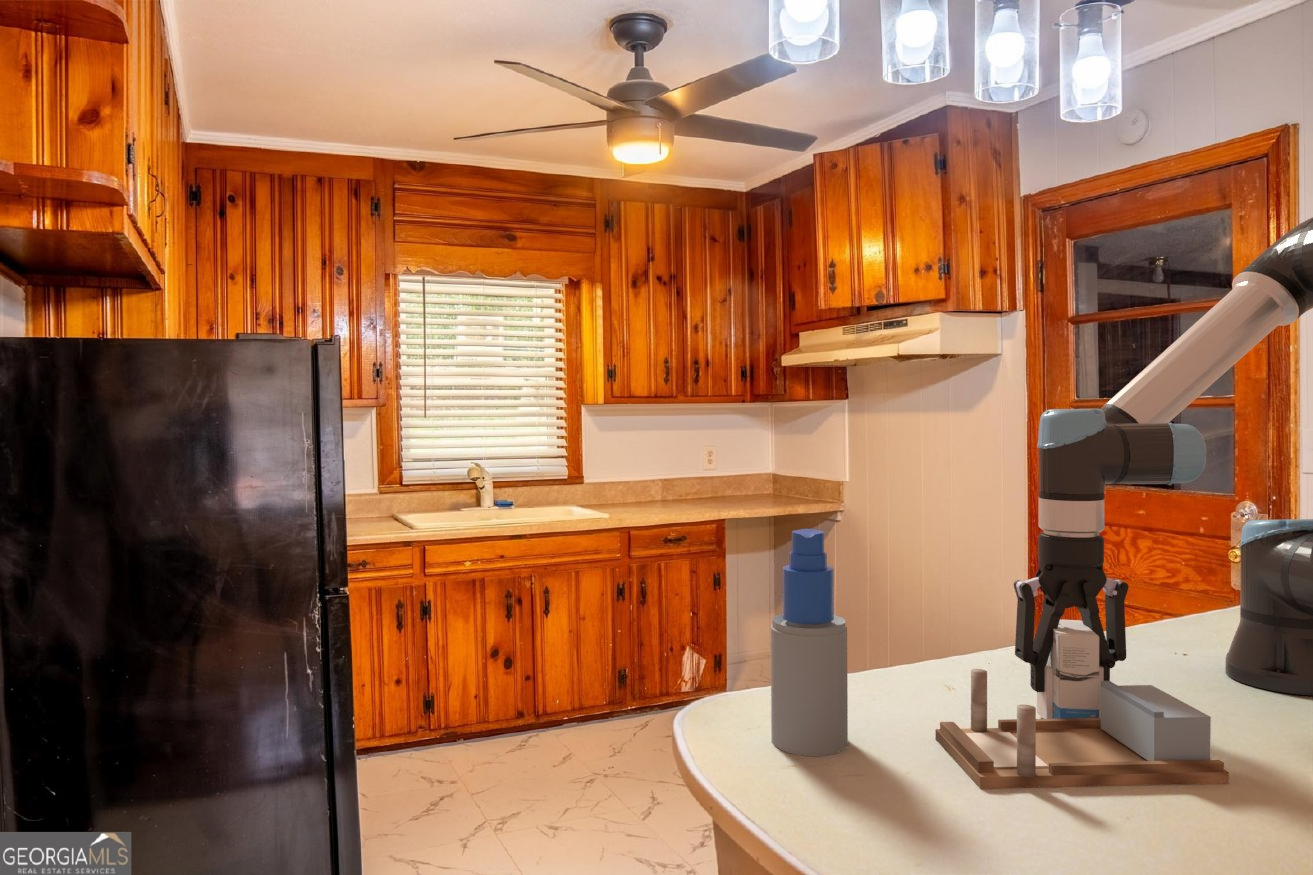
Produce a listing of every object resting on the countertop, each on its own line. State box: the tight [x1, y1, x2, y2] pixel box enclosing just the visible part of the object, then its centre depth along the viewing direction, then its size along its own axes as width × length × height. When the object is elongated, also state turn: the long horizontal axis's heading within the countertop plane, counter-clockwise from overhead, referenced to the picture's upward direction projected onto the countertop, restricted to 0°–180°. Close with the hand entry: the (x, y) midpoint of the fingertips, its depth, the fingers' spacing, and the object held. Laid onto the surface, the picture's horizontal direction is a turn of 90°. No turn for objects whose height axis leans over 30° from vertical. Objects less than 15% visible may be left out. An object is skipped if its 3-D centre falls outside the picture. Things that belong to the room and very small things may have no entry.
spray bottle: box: [770, 528, 849, 757], centre depth 107 cm, size 9×9×25 cm
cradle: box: [935, 668, 1230, 789], centre depth 101 cm, size 26×15×8 cm, turn 91°
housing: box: [1101, 680, 1212, 761], centre depth 101 cm, size 6×11×6 cm, turn 1°
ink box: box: [1047, 618, 1099, 719], centre depth 114 cm, size 8×5×12 cm, turn 169°
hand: (1069, 716), depth 114 cm, fingers closed on ink box, 6 cm apart
